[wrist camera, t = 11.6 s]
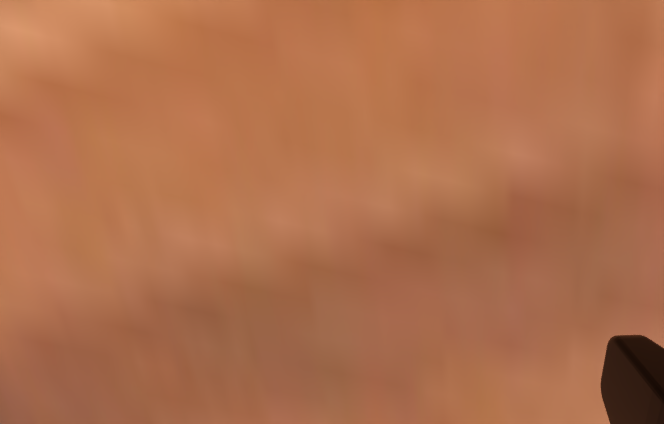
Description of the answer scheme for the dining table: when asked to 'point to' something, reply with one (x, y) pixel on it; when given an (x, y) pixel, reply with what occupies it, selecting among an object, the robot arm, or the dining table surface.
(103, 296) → the dining table surface
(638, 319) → the dining table surface
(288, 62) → the dining table surface
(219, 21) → the dining table surface
